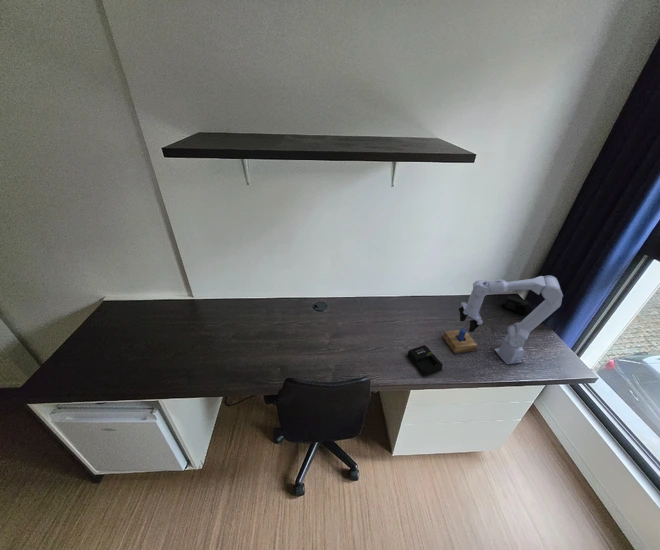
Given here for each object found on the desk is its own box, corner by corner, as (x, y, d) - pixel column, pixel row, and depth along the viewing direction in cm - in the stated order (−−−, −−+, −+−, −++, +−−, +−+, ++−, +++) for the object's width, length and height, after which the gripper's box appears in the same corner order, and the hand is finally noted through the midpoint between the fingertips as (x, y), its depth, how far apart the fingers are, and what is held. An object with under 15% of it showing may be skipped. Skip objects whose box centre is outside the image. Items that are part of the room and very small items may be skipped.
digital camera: (503, 309, 170) (507, 299, 166) (504, 304, 174) (508, 295, 170) (523, 315, 165) (528, 306, 161) (524, 310, 169) (528, 301, 165)
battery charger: (407, 355, 139) (408, 349, 137) (423, 350, 142) (425, 344, 140) (423, 376, 129) (425, 370, 126) (441, 370, 132) (443, 364, 130)
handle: (462, 344, 146) (467, 330, 141) (459, 346, 144) (464, 333, 139) (457, 340, 148) (462, 327, 143) (454, 343, 146) (459, 330, 141)
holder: (475, 350, 142) (477, 344, 140) (454, 353, 140) (456, 347, 138) (462, 334, 151) (464, 329, 149) (443, 337, 150) (444, 331, 147)
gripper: (458, 295, 140) (451, 317, 147) (476, 315, 128) (467, 337, 135) (471, 294, 141) (463, 315, 149) (490, 313, 129) (481, 335, 137)
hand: (466, 326), depth 142 cm, fingers open, 7 cm apart
